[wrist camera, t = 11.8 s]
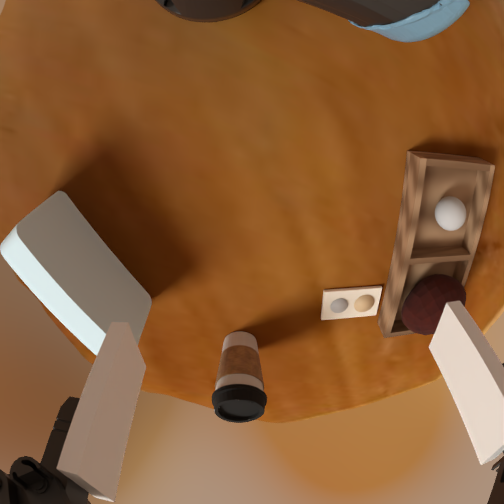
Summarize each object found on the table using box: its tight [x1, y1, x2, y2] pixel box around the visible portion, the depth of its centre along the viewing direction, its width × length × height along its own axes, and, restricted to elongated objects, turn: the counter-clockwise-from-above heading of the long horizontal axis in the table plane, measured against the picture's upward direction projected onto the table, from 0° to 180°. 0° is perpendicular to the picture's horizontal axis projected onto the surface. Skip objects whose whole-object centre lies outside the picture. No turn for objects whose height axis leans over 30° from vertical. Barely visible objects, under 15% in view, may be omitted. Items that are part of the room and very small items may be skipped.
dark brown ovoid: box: [401, 274, 466, 335], centre depth 46 cm, size 9×12×9 cm
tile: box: [321, 286, 382, 320], centre depth 52 cm, size 6×10×1 cm, turn 93°
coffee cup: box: [212, 331, 267, 423], centre depth 50 cm, size 8×8×15 cm
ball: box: [435, 196, 466, 231], centre depth 40 cm, size 5×5×5 cm
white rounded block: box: [0, 191, 152, 356], centre depth 41 cm, size 23×6×13 cm, turn 31°
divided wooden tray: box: [378, 151, 495, 338], centre depth 45 cm, size 31×14×4 cm, turn 3°
